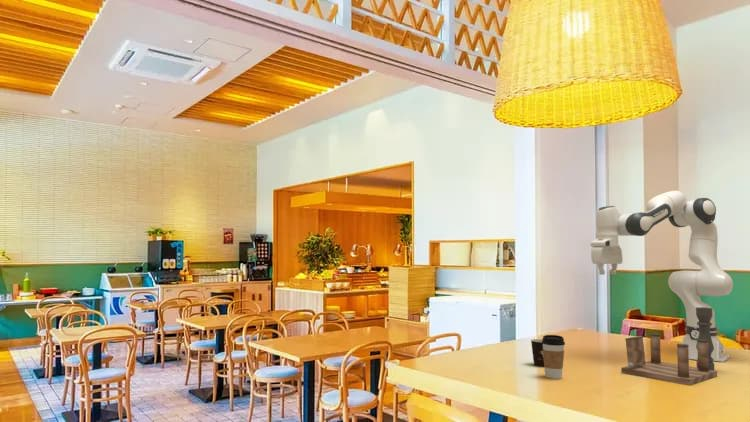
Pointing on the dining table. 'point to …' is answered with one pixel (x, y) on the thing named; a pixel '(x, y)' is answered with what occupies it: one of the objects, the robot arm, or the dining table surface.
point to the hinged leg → (635, 351)
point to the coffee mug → (537, 352)
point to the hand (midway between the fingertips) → (607, 274)
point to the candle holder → (705, 331)
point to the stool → (675, 365)
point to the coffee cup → (553, 355)
